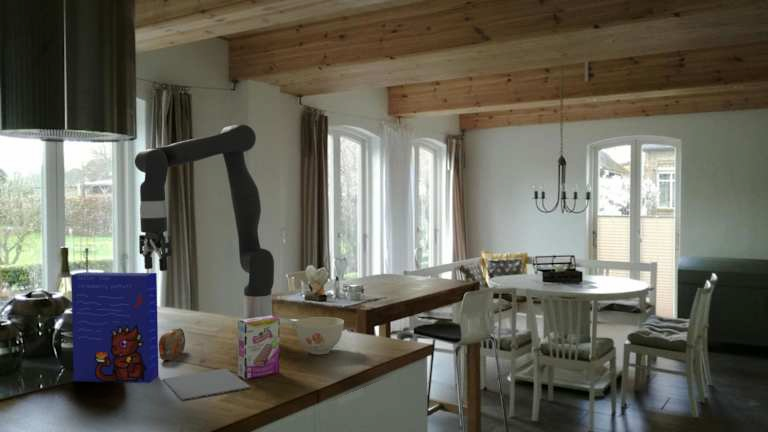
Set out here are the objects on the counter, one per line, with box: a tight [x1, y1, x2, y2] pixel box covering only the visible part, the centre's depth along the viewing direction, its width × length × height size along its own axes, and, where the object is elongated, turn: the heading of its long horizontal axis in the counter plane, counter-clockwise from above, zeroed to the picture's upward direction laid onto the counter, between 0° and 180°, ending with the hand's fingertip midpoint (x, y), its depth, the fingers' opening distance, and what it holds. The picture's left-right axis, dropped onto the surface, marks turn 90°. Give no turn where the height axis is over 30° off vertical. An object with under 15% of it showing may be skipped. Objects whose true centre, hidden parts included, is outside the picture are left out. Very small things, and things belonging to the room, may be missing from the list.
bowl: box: [294, 316, 345, 355], centre depth 202 cm, size 16×16×10 cm
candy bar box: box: [237, 315, 281, 381], centre depth 177 cm, size 11×5×16 cm, turn 130°
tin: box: [158, 328, 186, 361], centre depth 197 cm, size 15×3×8 cm, turn 176°
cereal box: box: [70, 271, 160, 384], centre depth 174 cm, size 22×6×30 cm, turn 84°
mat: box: [162, 368, 251, 401], centre depth 169 cm, size 18×20×1 cm
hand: (155, 269), depth 186 cm, fingers open, 8 cm apart
